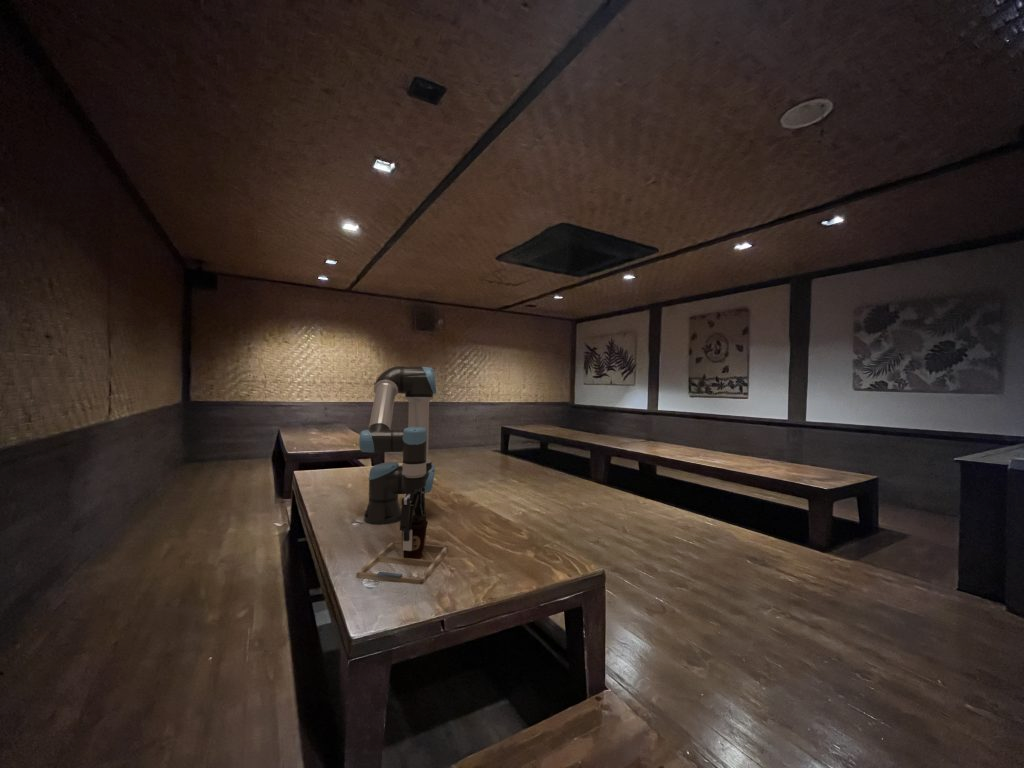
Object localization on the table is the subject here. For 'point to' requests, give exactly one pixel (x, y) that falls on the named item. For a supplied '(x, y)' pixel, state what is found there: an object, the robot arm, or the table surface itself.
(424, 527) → the coffee cup
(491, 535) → the table surface
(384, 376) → the robot arm
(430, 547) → the wooden frame
